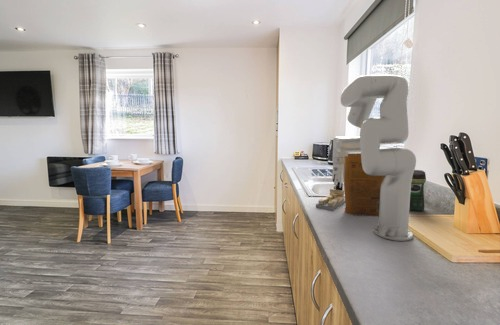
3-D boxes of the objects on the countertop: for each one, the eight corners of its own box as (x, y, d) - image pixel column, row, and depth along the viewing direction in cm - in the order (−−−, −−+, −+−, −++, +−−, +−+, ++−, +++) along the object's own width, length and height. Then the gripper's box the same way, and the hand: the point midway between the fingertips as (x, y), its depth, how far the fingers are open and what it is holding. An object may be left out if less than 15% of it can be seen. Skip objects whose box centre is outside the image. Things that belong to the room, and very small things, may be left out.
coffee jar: (421, 207, 127) (423, 169, 124) (425, 212, 119) (428, 171, 117) (398, 205, 130) (400, 168, 127) (401, 210, 123) (404, 171, 120)
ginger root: (332, 206, 126) (332, 196, 125) (318, 203, 130) (318, 194, 130) (343, 199, 137) (344, 190, 136) (330, 197, 141) (331, 188, 140)
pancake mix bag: (389, 218, 113) (393, 153, 109) (342, 215, 117) (344, 153, 114) (385, 213, 120) (388, 151, 116) (341, 210, 124) (342, 151, 120)
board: (333, 210, 125) (333, 200, 124) (315, 207, 130) (316, 197, 130) (349, 200, 140) (349, 192, 139) (332, 198, 146) (332, 189, 145)
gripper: (341, 162, 129) (340, 198, 132) (352, 159, 141) (351, 192, 143) (326, 161, 134) (325, 196, 137) (338, 158, 145) (337, 190, 148)
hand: (338, 194), depth 140 cm, fingers closed
